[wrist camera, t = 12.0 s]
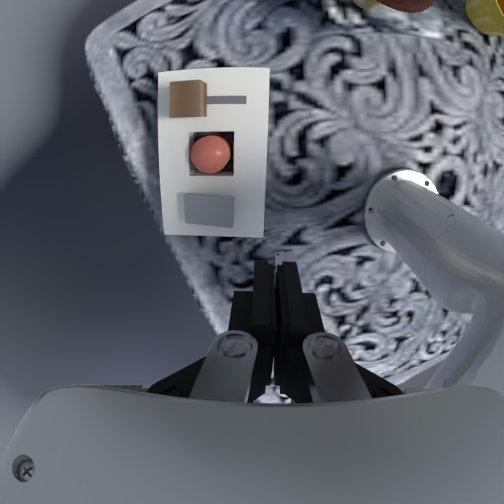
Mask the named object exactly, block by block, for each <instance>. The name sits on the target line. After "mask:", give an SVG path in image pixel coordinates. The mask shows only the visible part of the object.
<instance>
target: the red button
mask: <svg viewBox="0 0 504 504" xmlns="http://www.w3.org/2000/svg"><path fill="white" fill-rule="evenodd" d="M230 157H231V147H230V144H229V142H228V141H227V140H226V139H225V138H223V137H222V136H219V135H209V136H206V137H203V138H201V139H199V140H198V141H197V142H196V143H195V144H194V145H193V147H192V150H191V160H192V163H193V164H194V166H195V167H196V168H197V169H198V170H199V171H201V172H204V173H216V172H218V171H220V170H221V169H223V168H224V167H225V165H226V164H227V163H228V161H229V159H230Z"/></svg>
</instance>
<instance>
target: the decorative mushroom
mask: <svg viewBox="0 0 504 504" xmlns="http://www.w3.org/2000/svg"><path fill="white" fill-rule="evenodd" d="M434 1H435V0H353V2H354V3H355V4H356V5H357V6H359V7H361V8H363V9H365V10H371V9H375V8H377V7H379V6H380V5H381V4H383V5H386V6H388V7H390V8H393V9H395V10H398V11H403V12H410V13H415V12H421V11H424V10H426V9H428V8H429V7H430V6H431V5H432V4H433V2H434Z"/></svg>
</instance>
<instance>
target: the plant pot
mask: <svg viewBox="0 0 504 504" xmlns="http://www.w3.org/2000/svg"><path fill="white" fill-rule="evenodd" d="M465 9H466V13H467V15H468V18H469V19H470V21H471V22H472V24H473V25H474V26H475V27H476V28H477V29H478V30H479V31H481V32H482V33H485V34H491V35H498V36H504V0H467V1H466V3H465Z"/></svg>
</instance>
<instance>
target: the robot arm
mask: <svg viewBox="0 0 504 504" xmlns="http://www.w3.org/2000/svg"><path fill="white" fill-rule="evenodd" d="M392 176H393V178H392ZM370 207H371V209H370V210H369V208H370ZM364 223H365V227H366V230H367V233H368V234H369V236H370V238H371V239H372V240H373V241H374V243H375V244H376V245H377V246H378V247H380V248H381V249H383V250H385V251H388V252H391V253H398V254H399V256H400V257H401V258H402V259H403V260H404V262H405V263H406V264H407V265H408V266H409V268H410V269H411V270H412V271H413V273H414V274H415V275H416V276H417V278H418V279H419V280H420V281H421V283H422V284H423V285H424V286H425V288H426V289H427V290H428V292H429V293H430V294H431V295H432V297H433V298H434V299H435V300H436V301H437V303H438V304H439V305H441V306H442V307H443V308H445V309H447V310H449V311H451V312H455V313H461V314H472V313H474V314H473V317H472V319H471V321H470V323H469V325H468V326H467V328H466V329H465V331H464V333H463V336H462V337H461V338H460V340H459V341H458V343H457V344H456V346H455V347H454V348H453V350H452V351H451V353H450V354H449V355H448V357H447V358H446V359H445V361H444V362H443V363H442V365H441V366H440V367H439V369H438V370H437V371H436V372H435V374H434V375H433V376H432V378H431V379H430V381H429V382H428V383H427V385H426V387H425V388H424V389H414V388H405V390H404V391H401V390H400V389H399V388H398V387H396V386H395V385H394V384H392V383H390V382H388V381H386V380H385V379H383V378H381V377H379V376H378V375H376V374H374V373H372V372H370V371H369V370H367V369H365V368H363V367H362V366H360V365H358V364H356V363H355V362H354V360H353V358H352V357H351V355H350V353H349V351H348V349H347V347H346V345H345V343H344V342H343V341H342V339H340V338H339V337H338V336H335V335H333V334H330V333H325V331H324V327H323V323H322V319H321V315H320V311H319V307H318V303H317V299H316V295H315V294H314V293H302V288H301V283H300V278H299V273H298V269H297V264H296V262H288V261H283V262H282V265H277V271H276V284H275V286H274V270H273V264H268V261H261V260H255V264H254V283H253V291H234V295H233V301H232V308H231V315H230V321H229V328H228V331H226V332H223V333H221V334H219V335H218V336H217V337H215V339H214V340H213V342H212V344H211V347H210V349H209V351H208V353H207V356H206V357H204V358H202V359H200V360H198V361H196V362H195V363H193V364H191V365H189V366H187V367H185V368H183V369H181V370H179V371H177V372H176V373H174V374H172V375H170V376H168V377H166V378H164V379H162V380H160V381H158V382H156V383H155V384H153V385H152V386H151V387H150V388H143V385H67V386H61V387H56V388H52V389H50V390H47V391H45V392H44V393H43V394H42V395H40V396H39V397H38V398H37V399H36V400H35V401H34V403H33V404H32V405H31V407H30V408H29V409H28V411H27V412H26V414H25V415H24V417H23V419H22V420H21V422H20V424H19V426H18V427H17V429H16V431H15V433H14V435H13V437H12V439H11V441H10V443H9V445H8V447H7V449H6V452H5V454H4V456H3V459H2V461H1V464H0V504H504V235H503V234H501V233H500V232H498V231H497V230H495V229H494V228H492V227H491V226H489V225H488V224H486V223H485V222H483V221H481V220H480V219H478V218H477V217H475V216H474V215H472V214H471V213H469V212H467V211H466V210H464V209H462V208H461V207H459V206H458V205H456V204H454V203H453V202H451V201H449V200H447V199H446V198H444V197H442V196H440V195H439V194H438V192H437V190H436V188H435V186H434V184H433V183H432V181H431V180H430V179H429V178H428V177H427V176H425V175H424V174H422V173H420V172H418V171H416V170H413V169H407V168H405V169H397V170H393V171H391V172H389V173H387V174H385V175H384V176H382V177H381V178H380V179H379V180H378V181H377V182H376V183H375V184H374V185H373V187H372V188H371V190H370V192H369V193H368V196H367V199H366V201H365V206H364ZM273 356H274V385H275V386H280V394H285V395H286V396H288V397H289V398H290V399H291V404H272V403H254V402H255V400H256V399H257V398H259V397H260V396H261V395H263V394H264V393H265V387H266V385H270V382H271V374H272V365H273Z"/></svg>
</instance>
